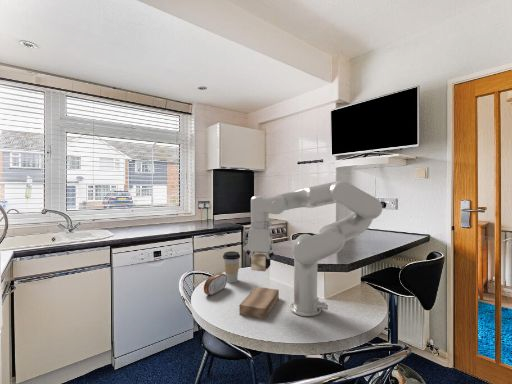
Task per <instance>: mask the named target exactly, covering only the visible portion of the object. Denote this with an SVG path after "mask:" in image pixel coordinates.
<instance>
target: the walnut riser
mask: <svg viewBox="0 0 512 384" xmlns="http://www.w3.org/2000/svg"><path fill="white" fill-rule="evenodd" d="M279 291H280V289H275V288H268V287H259V286H255V288H254V289H253V290H252V291H250V293H249V294H248V295H247V296H246V297H245V298H244V299H243V300H242V302H240V303H239V306H238V307H239V308H238V309H239V315H242V316H245V317H247V316H248V317H253V318H258V319H263V320H266V319H267V317H268V316H269V314H270V312H271V311H272V310H273V308H274V306H275V305H276V303H277V302H278V300H279V295H280V293H279Z"/></svg>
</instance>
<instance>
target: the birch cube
mask: <svg viewBox="0 0 512 384" xmlns="http://www.w3.org/2000/svg"><path fill="white" fill-rule="evenodd" d="M266 259H267V257H266V254H265V252H255V253H254V254H253V255H252V256H251V264H250V270H251V271H256V272H266V271H267V270H268V269H267V268H266Z"/></svg>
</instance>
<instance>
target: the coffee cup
mask: <svg viewBox="0 0 512 384" xmlns="http://www.w3.org/2000/svg"><path fill="white" fill-rule="evenodd" d="M222 259H223V260H224V261H223V266H224V274H225V275H226V276H227V282H226V283H228V284H230V283H231V284H232V283H233V284H235V283H237V282H238V276H239V267H240V259H241V255H240V253H239V252H238V251H235V250H234V251H233V250H232V251H231V250H230V251H226V252H224V253H223V256H222Z"/></svg>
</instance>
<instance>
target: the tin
mask: <svg viewBox="0 0 512 384" xmlns="http://www.w3.org/2000/svg"><path fill="white" fill-rule="evenodd" d="M227 283H228V282H227V276H226V273H223V272H218V273H216V274H213V275H211V276H209V277H208V278H207V279H206V280H205V282H204V285H203V292H204V294H205V295H208V296H213V295H216V294H217V293H220V292H221V291H223V290H224V289H225V287H226V285H227Z"/></svg>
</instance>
